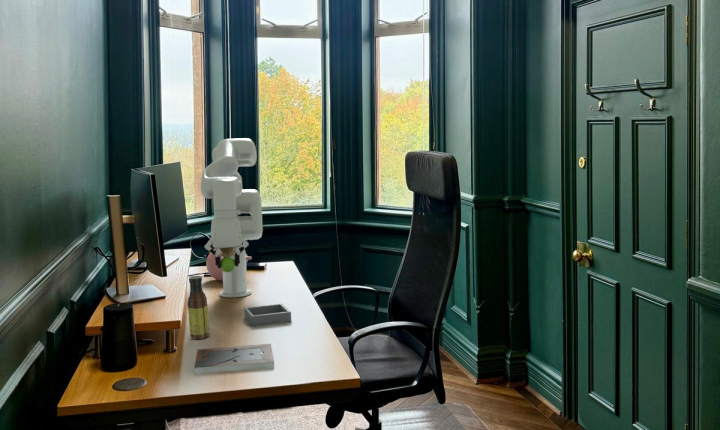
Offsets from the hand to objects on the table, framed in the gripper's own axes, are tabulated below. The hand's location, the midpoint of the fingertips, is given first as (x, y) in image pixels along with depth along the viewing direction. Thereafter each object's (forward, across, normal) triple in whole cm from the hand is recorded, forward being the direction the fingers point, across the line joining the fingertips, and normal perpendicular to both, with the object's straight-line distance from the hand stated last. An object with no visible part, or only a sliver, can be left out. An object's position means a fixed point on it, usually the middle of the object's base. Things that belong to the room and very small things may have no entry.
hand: (227, 266), depth 240 cm
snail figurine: (+2, 0, 0) cm, 2 cm away
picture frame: (+20, +6, +44) cm, 49 cm away
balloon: (+20, -11, -66) cm, 70 cm away
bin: (+19, -12, +5) cm, 23 cm away
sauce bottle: (+19, +13, +16) cm, 28 cm away
